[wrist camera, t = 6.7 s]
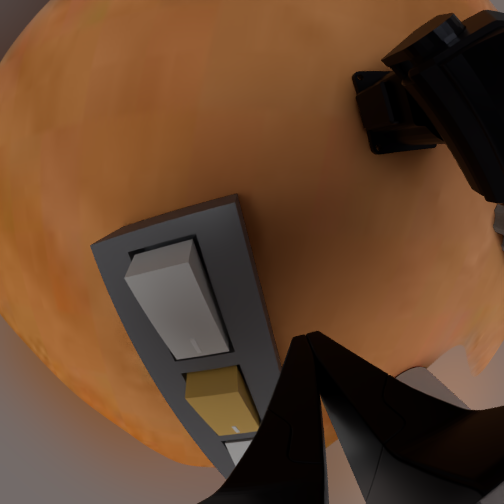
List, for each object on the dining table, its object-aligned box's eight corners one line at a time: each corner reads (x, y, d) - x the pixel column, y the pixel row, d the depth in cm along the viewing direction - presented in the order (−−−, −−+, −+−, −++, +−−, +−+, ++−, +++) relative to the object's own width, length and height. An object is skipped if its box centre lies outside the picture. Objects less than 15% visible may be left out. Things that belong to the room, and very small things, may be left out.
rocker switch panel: (237, 193, 19) (235, 202, 14) (299, 435, 27) (305, 467, 22) (120, 227, 19) (87, 246, 14) (225, 446, 27) (224, 478, 23)
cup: (378, 370, 24) (427, 457, 13) (443, 348, 24) (499, 414, 13) (365, 419, 27) (396, 495, 15) (424, 399, 27) (462, 461, 15)
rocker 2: (236, 364, 17) (238, 392, 15) (258, 409, 21) (260, 431, 19) (187, 372, 18) (184, 399, 16) (218, 414, 21) (218, 436, 19)
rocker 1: (192, 239, 15) (188, 262, 13) (228, 325, 18) (229, 351, 16) (134, 254, 15) (123, 278, 13) (179, 334, 18) (176, 360, 16)
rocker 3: (264, 424, 22) (265, 438, 19) (278, 467, 22) (279, 481, 20) (227, 429, 22) (224, 443, 20) (245, 471, 22) (244, 485, 20)
